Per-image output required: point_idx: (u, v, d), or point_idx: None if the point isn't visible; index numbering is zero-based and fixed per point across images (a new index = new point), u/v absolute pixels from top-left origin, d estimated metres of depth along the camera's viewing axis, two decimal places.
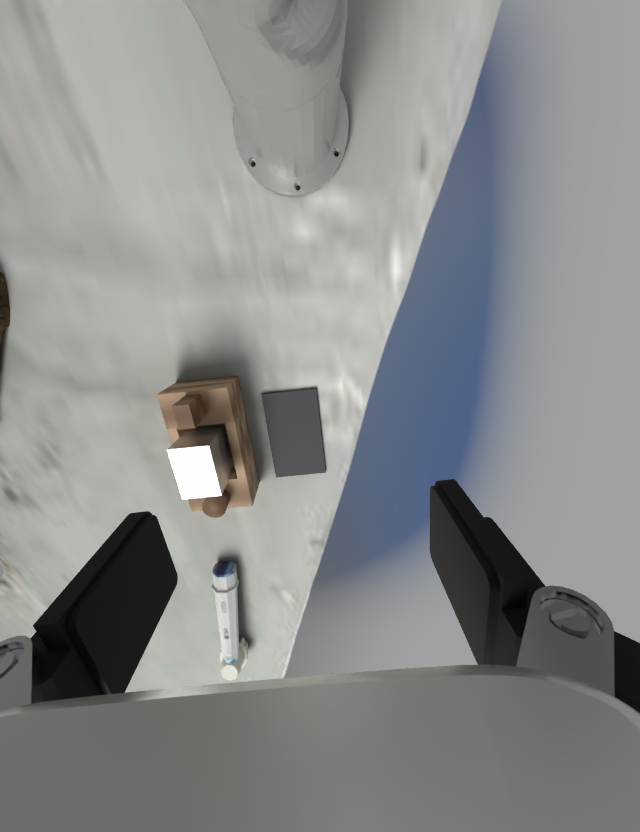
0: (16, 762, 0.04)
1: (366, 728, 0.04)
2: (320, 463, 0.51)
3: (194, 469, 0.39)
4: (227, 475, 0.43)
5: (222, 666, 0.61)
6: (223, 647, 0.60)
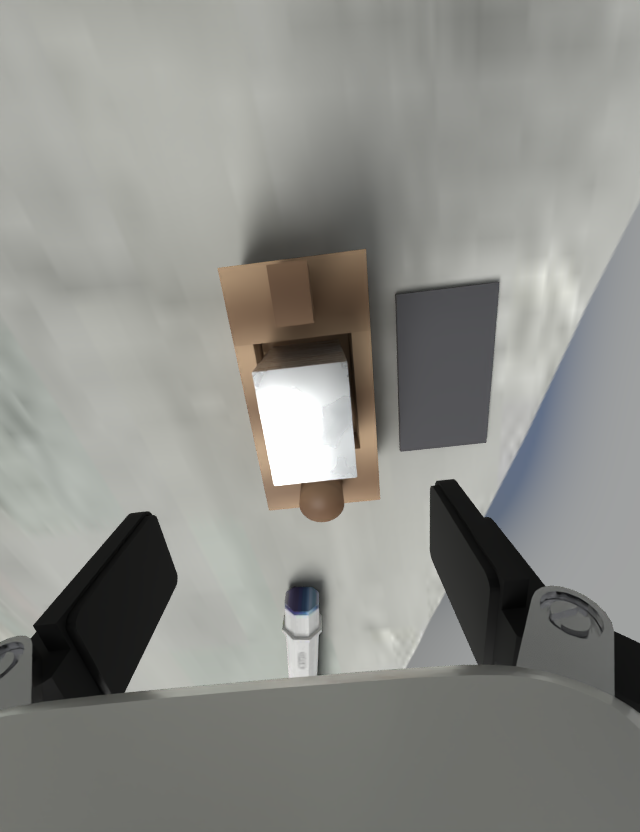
0: (16, 762, 0.04)
1: (367, 727, 0.04)
2: (480, 425, 0.29)
3: (307, 418, 0.18)
4: None
5: None
6: None
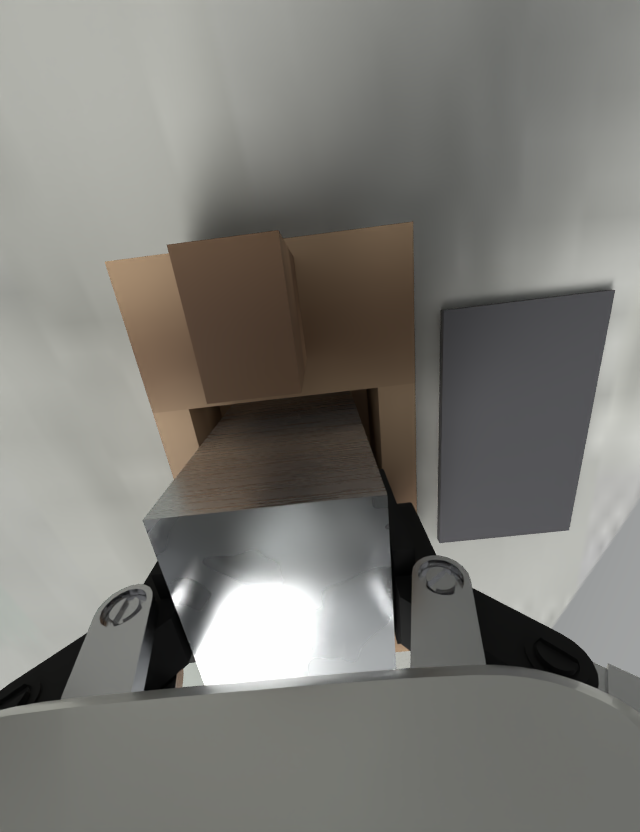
0: (16, 762, 0.04)
1: (367, 727, 0.04)
2: (562, 507, 0.19)
3: (288, 610, 0.07)
4: None
5: None
6: None
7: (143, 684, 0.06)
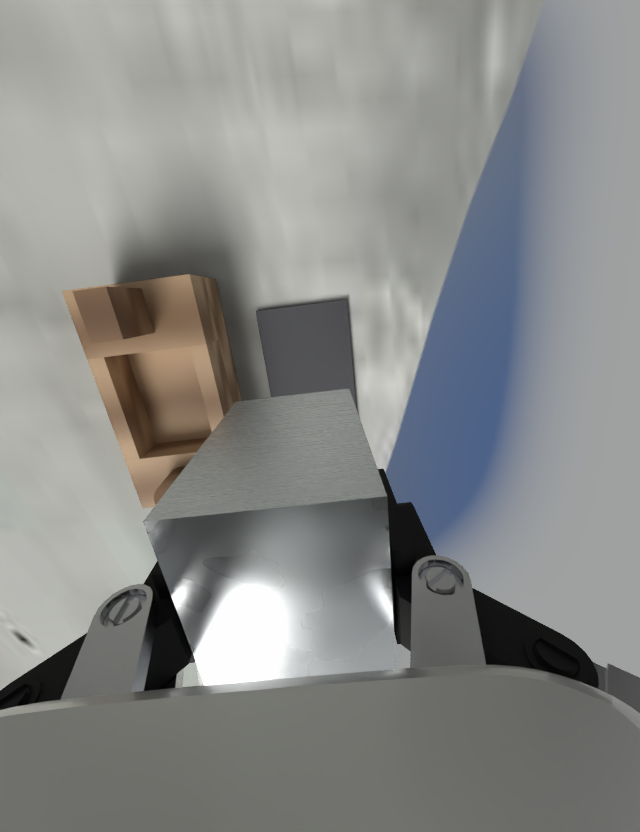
0: (16, 762, 0.04)
1: (367, 727, 0.04)
2: None
3: (288, 612, 0.07)
4: None
5: None
6: None
7: (143, 684, 0.06)
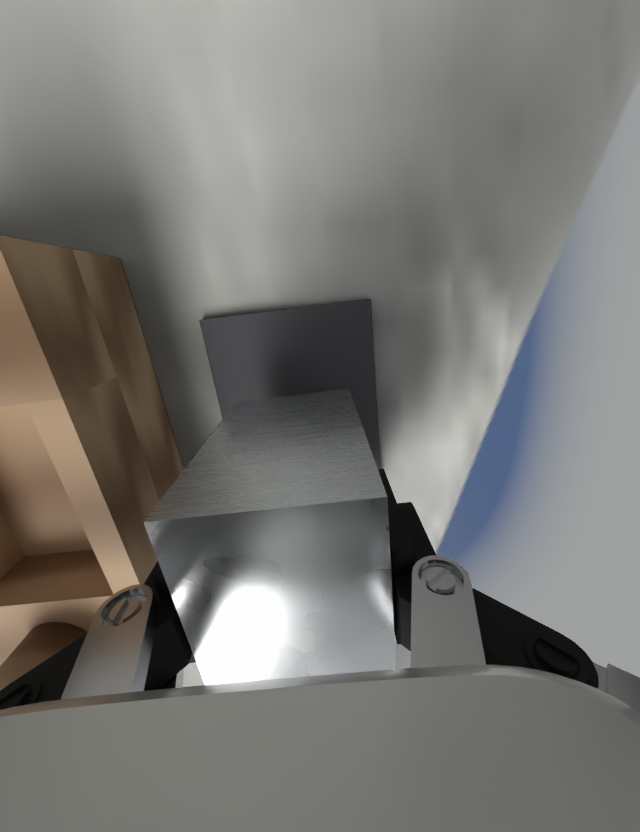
0: (16, 762, 0.04)
1: (367, 727, 0.04)
2: None
3: (289, 612, 0.07)
4: None
5: None
6: None
7: (143, 684, 0.06)
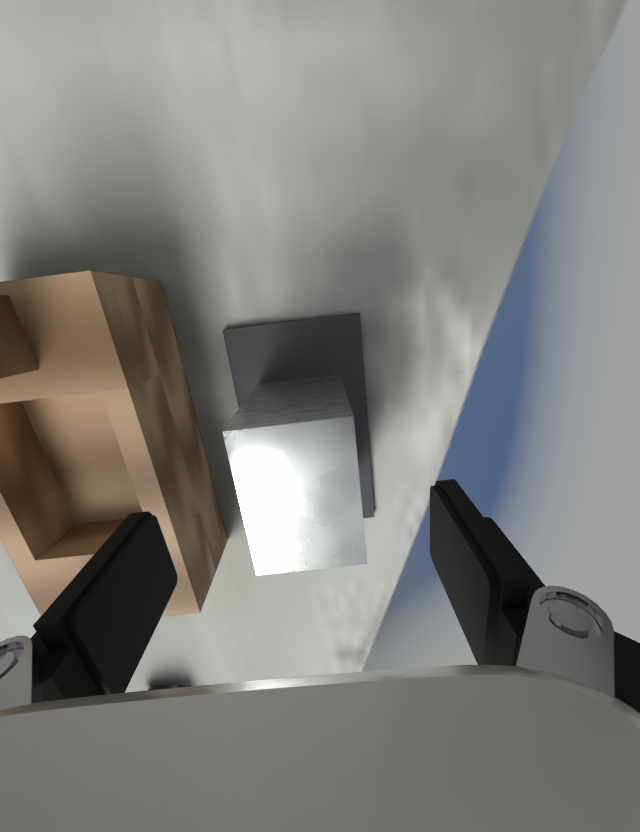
0: (16, 762, 0.04)
1: (367, 728, 0.04)
2: (363, 496, 0.22)
3: (300, 490, 0.13)
4: None
5: None
6: None
7: None
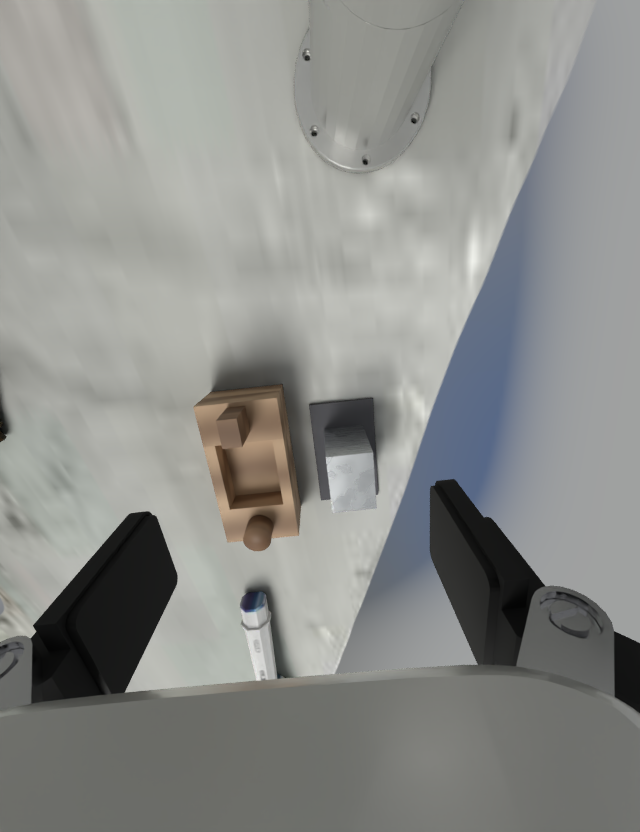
0: (16, 762, 0.04)
1: (367, 729, 0.04)
2: None
3: (352, 478, 0.35)
4: None
5: None
6: None
7: None
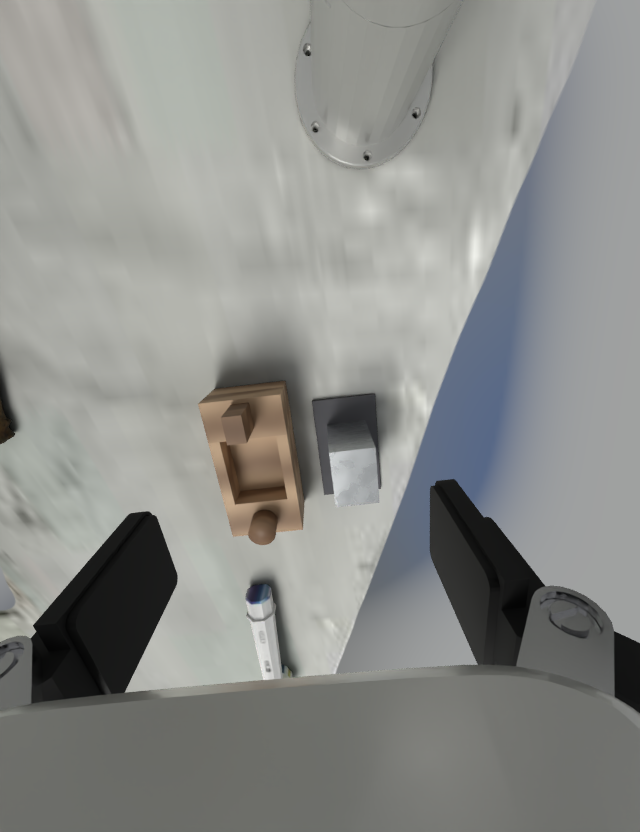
0: (16, 762, 0.04)
1: (367, 728, 0.04)
2: None
3: (355, 473, 0.35)
4: None
5: None
6: None
7: None
